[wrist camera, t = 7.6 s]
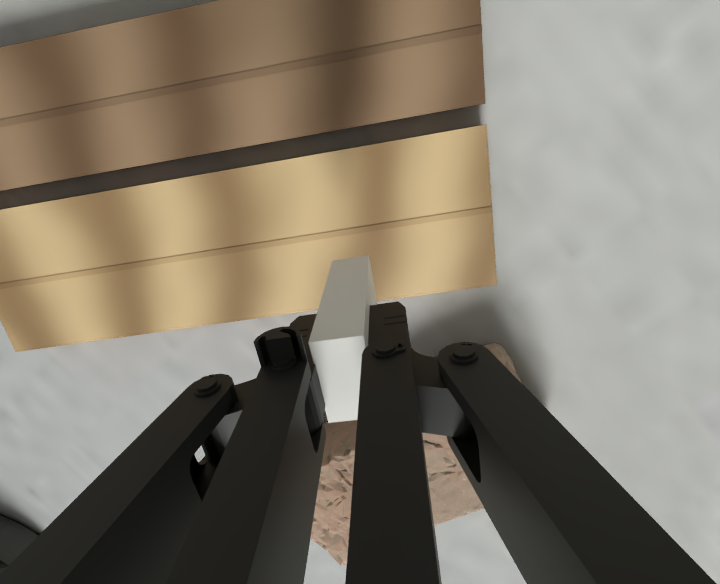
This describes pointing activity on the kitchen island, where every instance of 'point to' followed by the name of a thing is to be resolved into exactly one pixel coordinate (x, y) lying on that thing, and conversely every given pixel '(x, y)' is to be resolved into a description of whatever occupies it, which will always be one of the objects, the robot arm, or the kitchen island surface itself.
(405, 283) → the plank
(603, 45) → the kitchen island surface
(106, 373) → the kitchen island surface
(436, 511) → the brick
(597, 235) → the kitchen island surface
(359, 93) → the laid row
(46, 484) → the kitchen island surface
